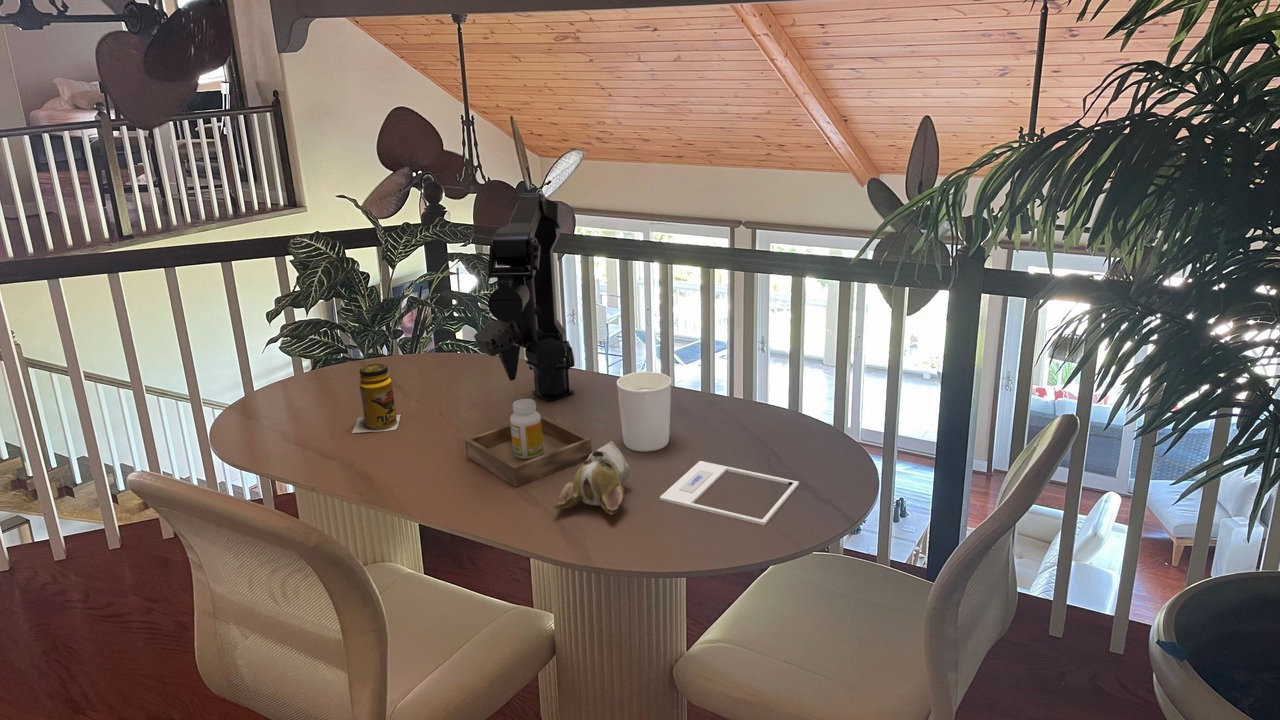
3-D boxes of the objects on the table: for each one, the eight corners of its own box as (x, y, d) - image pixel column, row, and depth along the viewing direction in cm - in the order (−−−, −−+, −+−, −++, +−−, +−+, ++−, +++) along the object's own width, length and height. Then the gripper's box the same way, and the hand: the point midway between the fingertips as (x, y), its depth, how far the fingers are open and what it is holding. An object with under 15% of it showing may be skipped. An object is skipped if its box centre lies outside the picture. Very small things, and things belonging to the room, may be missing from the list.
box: (540, 431, 170) (539, 414, 169) (592, 457, 158) (591, 439, 157) (466, 457, 160) (464, 439, 159) (516, 487, 149) (514, 468, 148)
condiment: (396, 430, 173) (388, 372, 169) (351, 434, 172) (342, 375, 168) (401, 415, 180) (393, 359, 176) (357, 419, 179) (349, 363, 175)
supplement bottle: (546, 446, 161) (542, 396, 158) (540, 460, 156) (535, 408, 153) (517, 446, 162) (512, 396, 159) (510, 459, 157) (505, 408, 154)
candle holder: (609, 448, 162) (606, 386, 158) (635, 427, 170) (632, 368, 166) (658, 457, 157) (656, 394, 153) (682, 436, 166) (680, 375, 162)
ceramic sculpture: (641, 434, 146) (613, 481, 133) (645, 480, 149) (617, 530, 136) (580, 429, 149) (546, 474, 136) (585, 474, 152) (552, 523, 139)
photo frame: (699, 459, 154) (799, 480, 146) (700, 465, 155) (799, 486, 146) (659, 496, 143) (764, 521, 134) (659, 502, 143) (764, 528, 134)
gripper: (450, 302, 157) (460, 385, 162) (509, 326, 143) (517, 415, 149) (504, 289, 163) (512, 369, 169) (565, 310, 150) (571, 396, 156)
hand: (526, 386), depth 160 cm, fingers open, 9 cm apart
